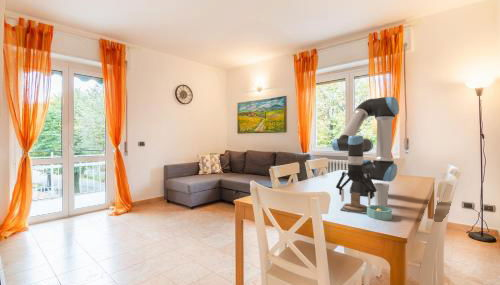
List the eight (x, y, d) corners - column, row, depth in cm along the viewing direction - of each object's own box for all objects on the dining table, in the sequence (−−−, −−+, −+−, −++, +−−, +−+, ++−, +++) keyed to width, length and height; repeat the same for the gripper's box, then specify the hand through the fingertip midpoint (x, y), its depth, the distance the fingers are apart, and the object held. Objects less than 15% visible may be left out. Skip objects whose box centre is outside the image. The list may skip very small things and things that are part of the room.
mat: (345, 204, 141) (345, 203, 141) (370, 208, 134) (370, 206, 134) (340, 210, 130) (340, 209, 130) (366, 214, 123) (366, 213, 123)
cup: (391, 207, 135) (391, 186, 135) (375, 206, 137) (375, 185, 136) (386, 203, 143) (386, 183, 142) (371, 202, 144) (371, 182, 144)
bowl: (368, 211, 128) (368, 204, 128) (392, 215, 122) (392, 207, 122) (365, 217, 119) (365, 209, 119) (391, 221, 113) (391, 213, 113)
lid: (346, 203, 141) (346, 190, 140) (369, 207, 134) (369, 192, 134) (341, 209, 131) (341, 194, 130) (365, 213, 124) (366, 197, 124)
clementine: (376, 213, 123) (376, 207, 123) (382, 214, 121) (382, 208, 121) (375, 214, 120) (375, 209, 120) (382, 216, 119) (382, 209, 119)
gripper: (330, 163, 135) (330, 201, 136) (380, 166, 122) (380, 208, 122) (333, 162, 142) (333, 198, 142) (382, 164, 128) (382, 204, 129)
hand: (355, 202), depth 132 cm, fingers open, 13 cm apart
